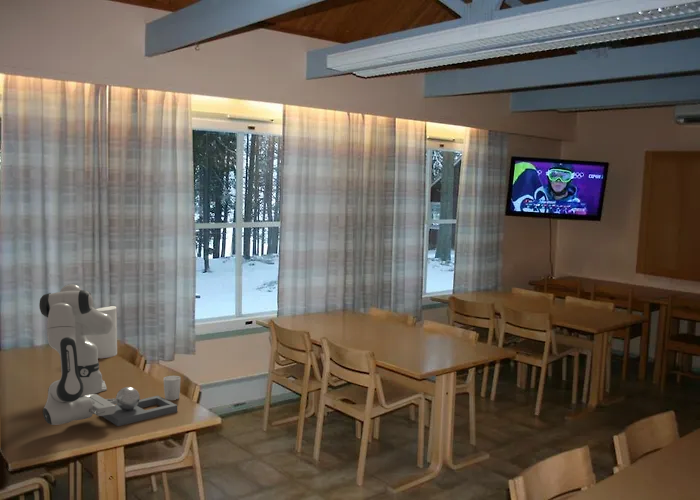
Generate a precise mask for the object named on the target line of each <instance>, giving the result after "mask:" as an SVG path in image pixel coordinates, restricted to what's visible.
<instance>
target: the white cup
mask: <svg viewBox="0 0 700 500" xmlns="http://www.w3.org/2000/svg"><path fill="white" fill-rule="evenodd" d="M163 391H164V399H166V400H168V401H176V399H177V400H179V399H180V394H181V393H180V392H181V376H179V375H167V376H165V377H163Z"/></svg>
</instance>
